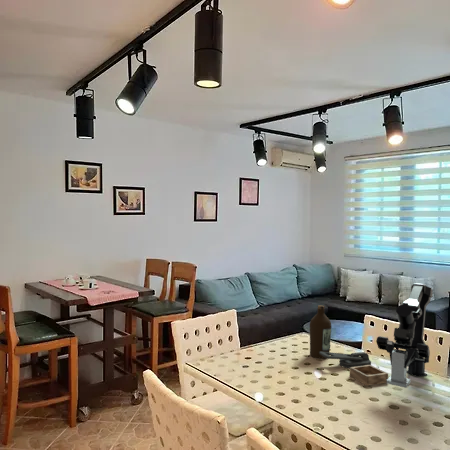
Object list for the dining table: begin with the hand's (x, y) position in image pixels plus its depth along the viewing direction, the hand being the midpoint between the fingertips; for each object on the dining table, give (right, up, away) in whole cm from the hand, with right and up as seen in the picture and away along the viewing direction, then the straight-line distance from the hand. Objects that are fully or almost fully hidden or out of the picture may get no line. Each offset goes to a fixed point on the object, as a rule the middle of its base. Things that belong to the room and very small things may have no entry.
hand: (398, 366), depth 159 cm
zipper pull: (-9, -13, +38) cm, 41 cm away
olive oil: (-18, -12, +51) cm, 55 cm away
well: (-4, -13, +22) cm, 25 cm away
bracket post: (+1, -7, +1) cm, 7 cm away
